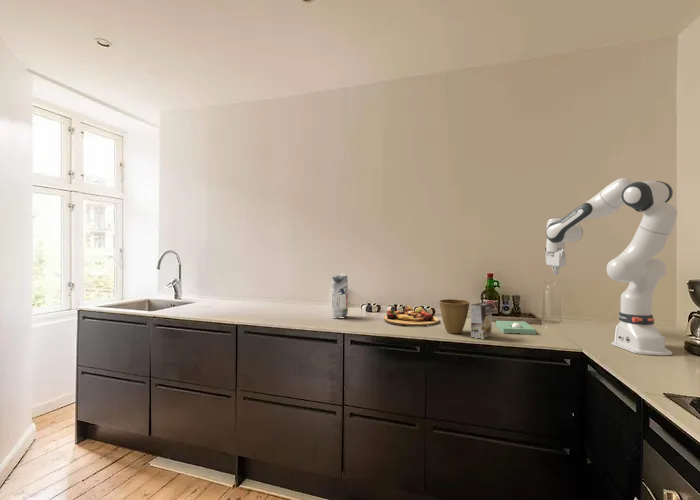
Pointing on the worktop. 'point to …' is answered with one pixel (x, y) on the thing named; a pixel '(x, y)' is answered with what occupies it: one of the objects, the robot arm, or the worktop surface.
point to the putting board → (507, 327)
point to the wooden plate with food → (411, 317)
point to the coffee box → (481, 320)
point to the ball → (516, 325)
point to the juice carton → (339, 296)
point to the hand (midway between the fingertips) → (555, 274)
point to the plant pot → (454, 314)
